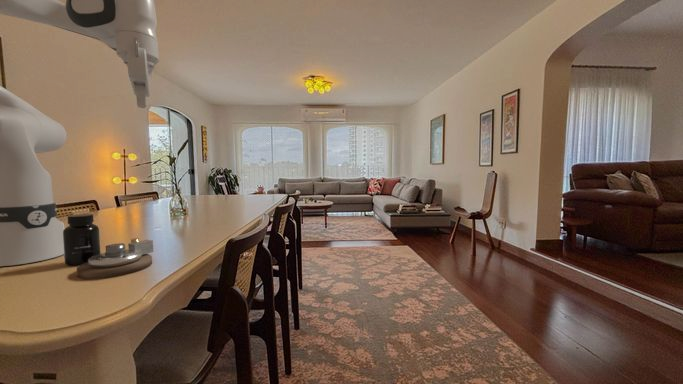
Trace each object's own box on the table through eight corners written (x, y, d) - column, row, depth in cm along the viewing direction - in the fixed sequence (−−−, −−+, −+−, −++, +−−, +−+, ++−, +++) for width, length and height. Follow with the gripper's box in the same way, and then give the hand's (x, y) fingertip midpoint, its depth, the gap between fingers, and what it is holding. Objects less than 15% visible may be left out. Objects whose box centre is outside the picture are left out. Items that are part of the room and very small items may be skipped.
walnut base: (62, 274, 65) (60, 250, 65) (128, 256, 78) (126, 236, 78) (102, 282, 60) (100, 256, 60) (165, 262, 73) (164, 240, 73)
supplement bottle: (80, 267, 70) (75, 217, 69) (57, 265, 71) (53, 217, 70) (108, 258, 77) (104, 213, 76) (87, 257, 78) (83, 212, 77)
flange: (104, 269, 62) (103, 253, 62) (78, 264, 66) (77, 248, 66) (163, 253, 74) (162, 239, 74) (138, 249, 78) (137, 236, 78)
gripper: (152, 38, 66) (156, 100, 68) (153, 65, 84) (156, 114, 85) (117, 31, 63) (122, 96, 64) (126, 61, 80) (129, 112, 82)
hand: (141, 107), depth 75 cm, fingers closed
